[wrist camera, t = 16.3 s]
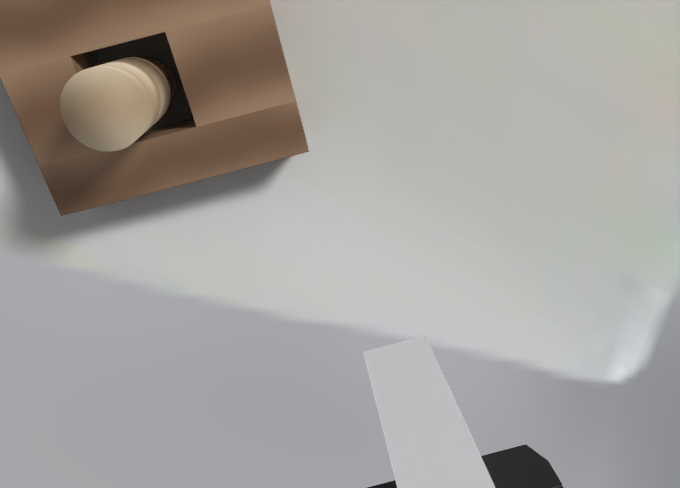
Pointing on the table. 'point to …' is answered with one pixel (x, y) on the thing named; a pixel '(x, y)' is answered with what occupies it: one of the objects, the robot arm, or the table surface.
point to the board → (197, 78)
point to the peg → (116, 101)
